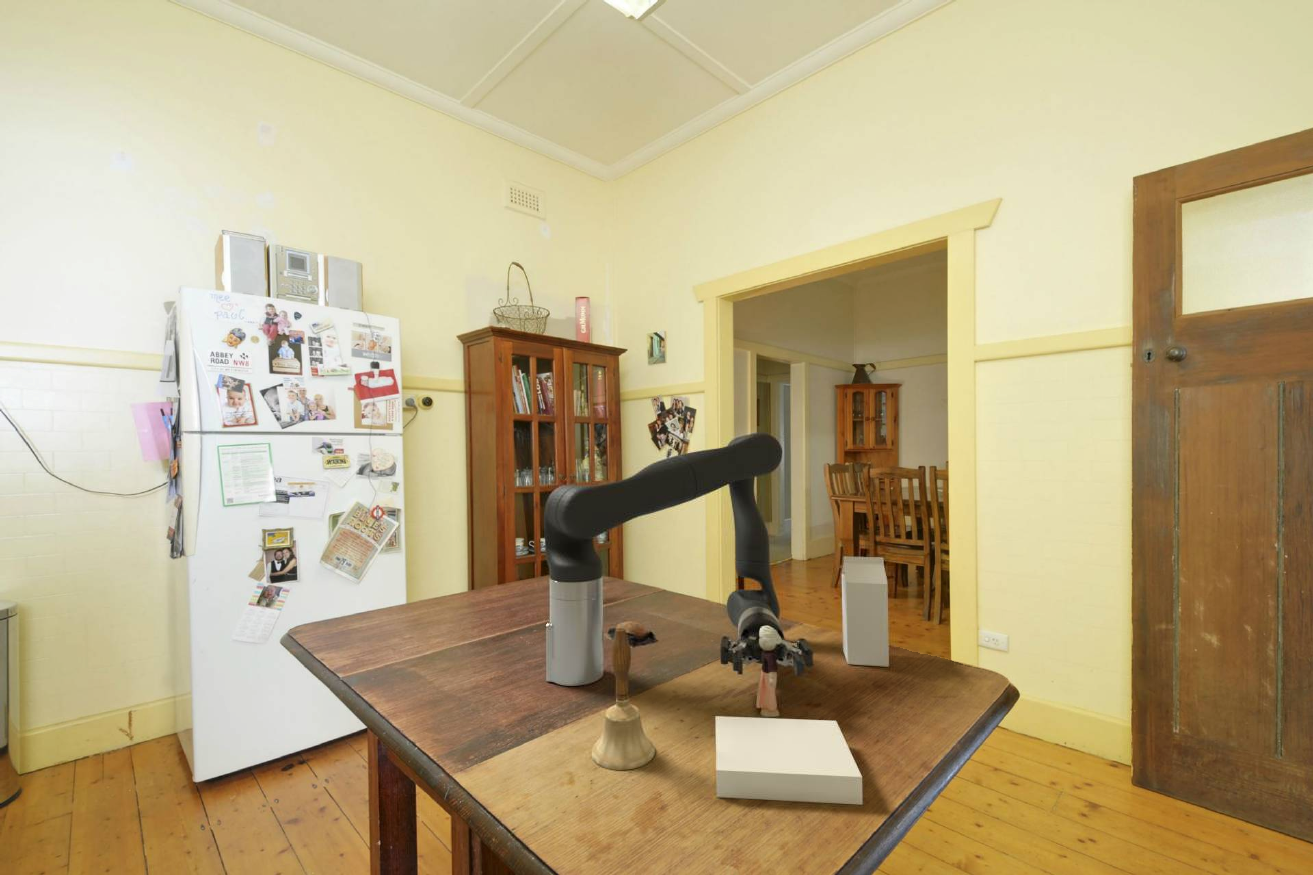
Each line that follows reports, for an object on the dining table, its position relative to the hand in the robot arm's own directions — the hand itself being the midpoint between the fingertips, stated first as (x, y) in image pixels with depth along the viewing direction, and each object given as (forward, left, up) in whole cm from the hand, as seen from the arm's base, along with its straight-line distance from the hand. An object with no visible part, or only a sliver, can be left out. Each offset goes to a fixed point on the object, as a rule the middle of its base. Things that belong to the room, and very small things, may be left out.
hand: (769, 669), depth 83 cm
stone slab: (0, -13, -7) cm, 15 cm away
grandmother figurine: (0, +2, -7) cm, 7 cm away
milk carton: (+20, +25, -7) cm, 33 cm away
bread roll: (-26, +34, -8) cm, 43 cm away
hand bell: (-20, -11, -7) cm, 24 cm away
